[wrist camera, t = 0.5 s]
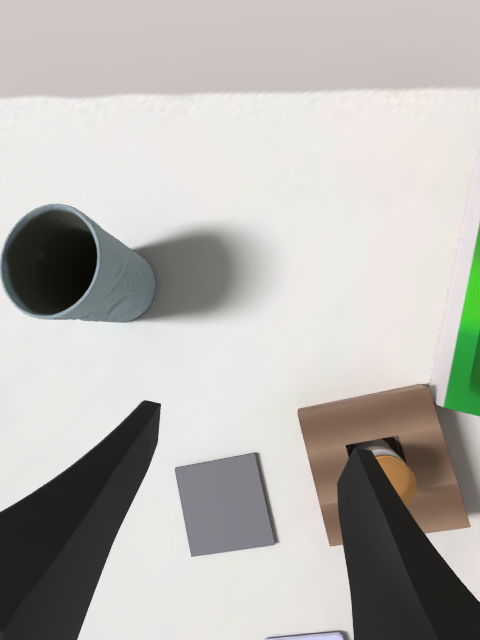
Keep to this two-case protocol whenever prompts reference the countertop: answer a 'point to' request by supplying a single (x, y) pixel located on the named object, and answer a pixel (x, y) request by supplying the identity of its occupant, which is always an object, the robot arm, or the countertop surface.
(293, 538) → the countertop surface
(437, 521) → the housing
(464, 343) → the tray
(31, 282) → the grey cup
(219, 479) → the mat
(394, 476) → the glass jar
